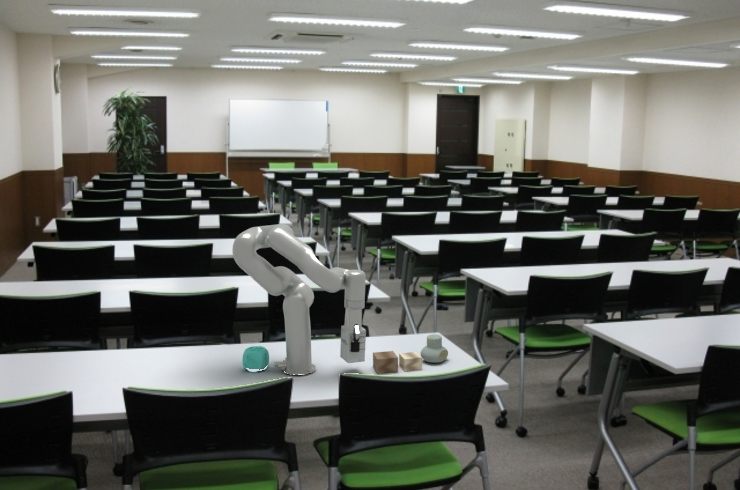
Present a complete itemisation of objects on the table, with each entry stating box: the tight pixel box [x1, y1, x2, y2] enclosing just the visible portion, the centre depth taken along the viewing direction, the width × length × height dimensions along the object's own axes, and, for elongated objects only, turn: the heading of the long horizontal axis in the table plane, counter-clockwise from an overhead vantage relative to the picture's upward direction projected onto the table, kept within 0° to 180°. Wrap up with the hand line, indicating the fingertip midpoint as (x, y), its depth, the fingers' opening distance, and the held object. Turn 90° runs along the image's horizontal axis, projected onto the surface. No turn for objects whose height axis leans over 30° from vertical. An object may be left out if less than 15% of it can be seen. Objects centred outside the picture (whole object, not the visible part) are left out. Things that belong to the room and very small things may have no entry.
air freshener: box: [420, 333, 449, 364], centre depth 286 cm, size 11×8×10 cm
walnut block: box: [372, 350, 399, 375], centre depth 277 cm, size 8×8×6 cm
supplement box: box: [339, 325, 367, 364], centre depth 274 cm, size 7×7×13 cm
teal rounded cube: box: [241, 345, 270, 370], centre depth 280 cm, size 8×8×8 cm
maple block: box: [398, 351, 423, 372], centre depth 279 cm, size 7×7×5 cm
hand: (352, 347), depth 274 cm, fingers closed on supplement box, 8 cm apart
